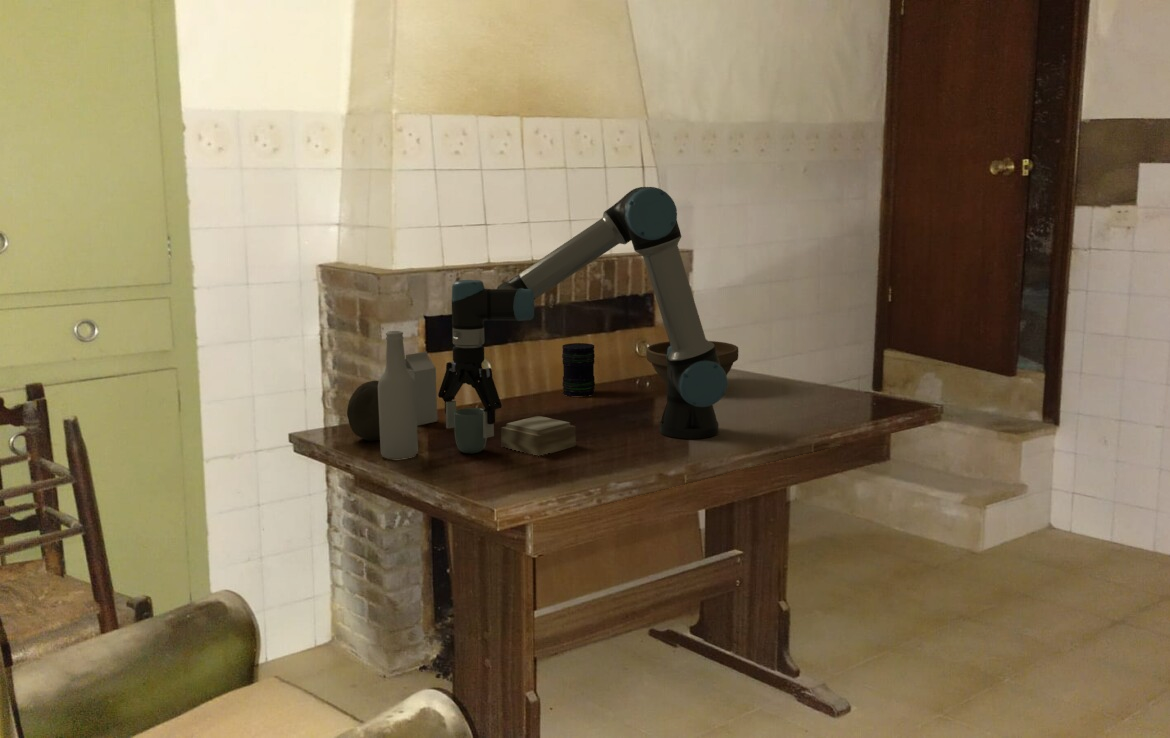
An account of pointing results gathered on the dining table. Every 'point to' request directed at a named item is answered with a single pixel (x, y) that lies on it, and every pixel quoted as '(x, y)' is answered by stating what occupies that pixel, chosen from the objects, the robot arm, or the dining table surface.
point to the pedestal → (538, 435)
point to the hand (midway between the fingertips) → (469, 432)
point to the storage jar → (578, 369)
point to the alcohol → (397, 403)
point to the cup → (469, 430)
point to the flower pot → (659, 351)
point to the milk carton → (423, 386)
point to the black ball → (365, 411)
